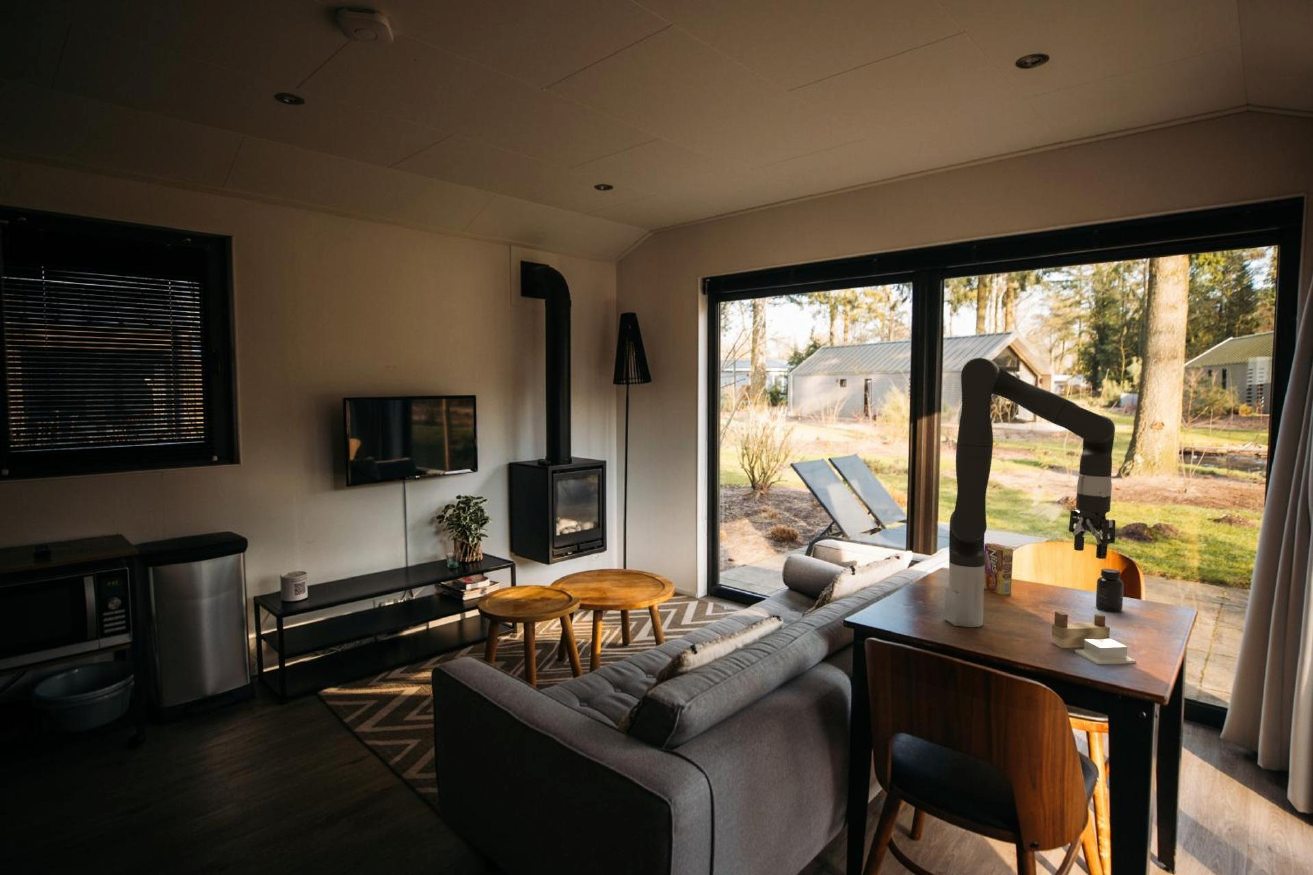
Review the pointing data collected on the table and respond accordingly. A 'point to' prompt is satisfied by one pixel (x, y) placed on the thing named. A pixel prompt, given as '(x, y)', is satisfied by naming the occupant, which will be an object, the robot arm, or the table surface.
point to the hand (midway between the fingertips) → (1089, 554)
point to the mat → (1105, 661)
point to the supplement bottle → (1109, 591)
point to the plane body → (1077, 631)
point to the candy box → (998, 568)
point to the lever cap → (1105, 649)
